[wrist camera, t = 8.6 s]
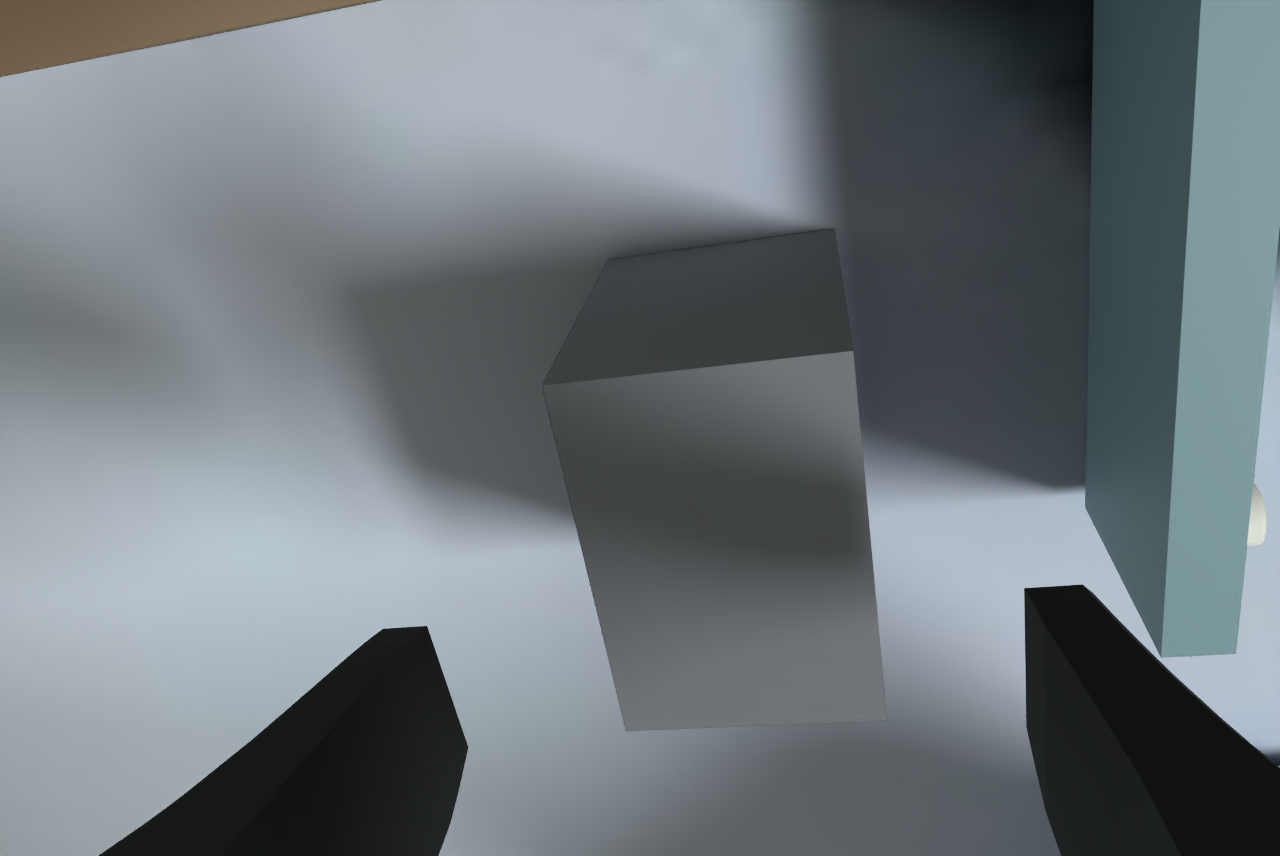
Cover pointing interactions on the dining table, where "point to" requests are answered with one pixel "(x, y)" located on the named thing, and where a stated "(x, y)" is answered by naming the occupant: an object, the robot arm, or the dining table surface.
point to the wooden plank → (128, 25)
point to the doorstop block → (723, 485)
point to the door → (1181, 302)
